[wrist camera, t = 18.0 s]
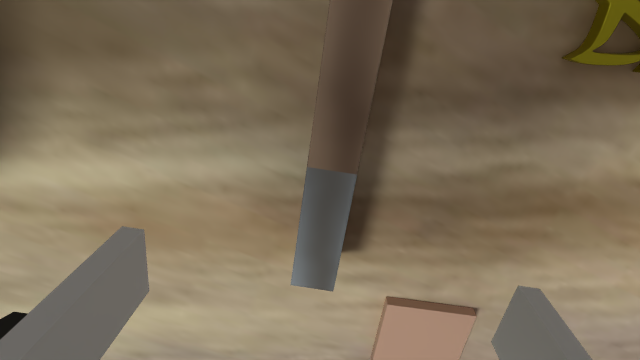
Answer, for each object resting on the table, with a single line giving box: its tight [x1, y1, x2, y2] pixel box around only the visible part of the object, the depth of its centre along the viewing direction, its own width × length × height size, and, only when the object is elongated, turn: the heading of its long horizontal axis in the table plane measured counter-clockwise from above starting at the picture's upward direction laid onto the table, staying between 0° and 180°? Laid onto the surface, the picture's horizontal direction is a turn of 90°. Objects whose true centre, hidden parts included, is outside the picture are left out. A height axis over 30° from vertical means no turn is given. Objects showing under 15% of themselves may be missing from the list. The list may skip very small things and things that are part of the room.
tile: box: [371, 297, 477, 360], centre depth 42 cm, size 10×2×10 cm
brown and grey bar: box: [291, 0, 393, 291], centre depth 30 cm, size 4×28×6 cm, turn 172°
